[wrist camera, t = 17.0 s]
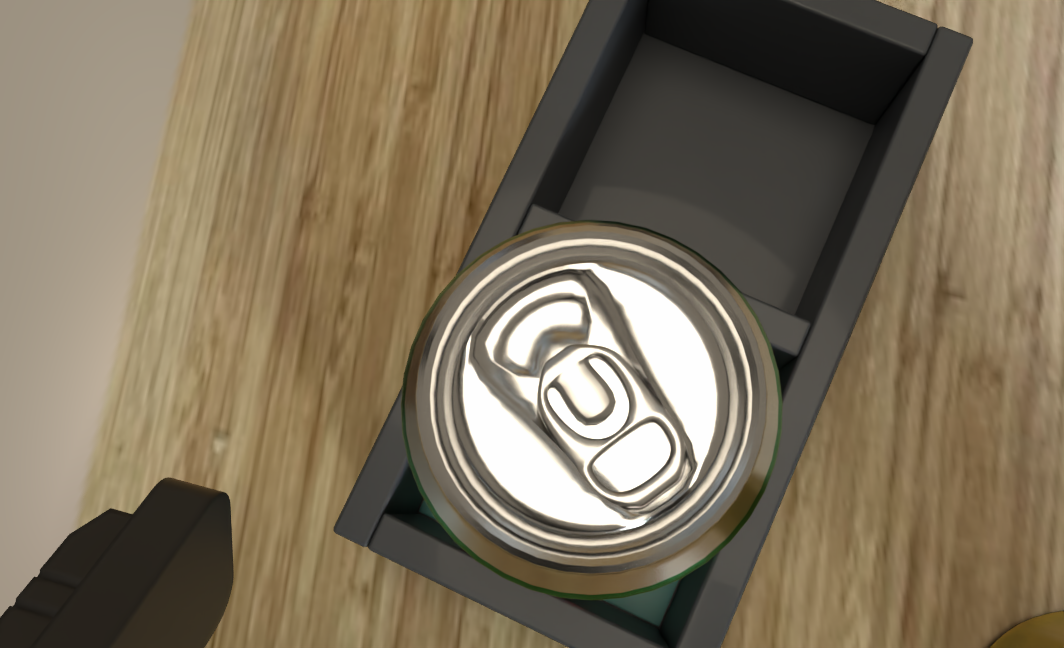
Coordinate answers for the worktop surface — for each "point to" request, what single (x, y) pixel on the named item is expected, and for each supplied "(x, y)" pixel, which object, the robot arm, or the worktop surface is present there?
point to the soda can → (591, 410)
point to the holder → (705, 236)
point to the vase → (1035, 633)
